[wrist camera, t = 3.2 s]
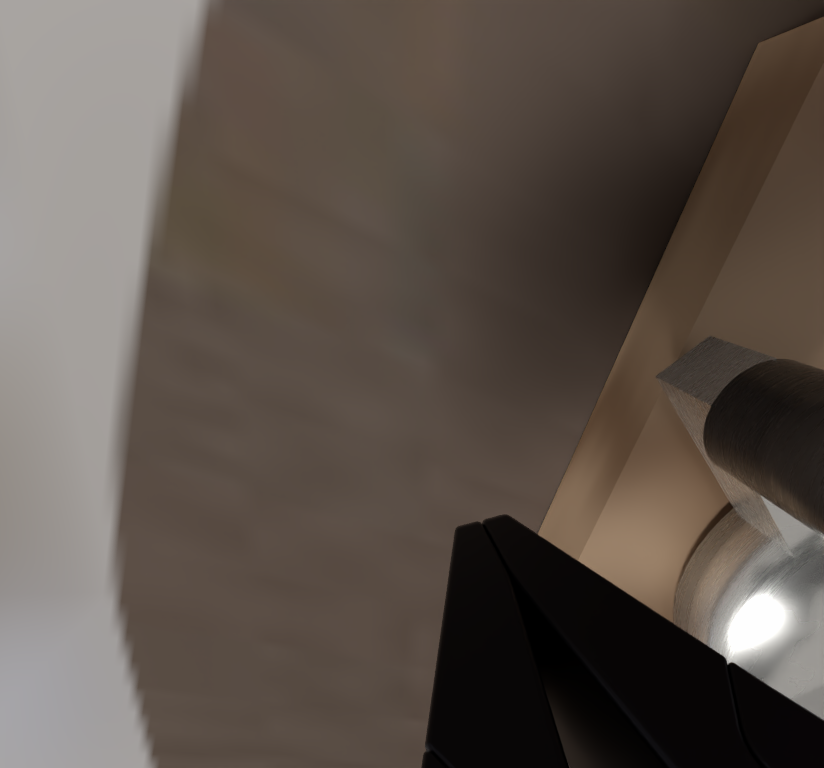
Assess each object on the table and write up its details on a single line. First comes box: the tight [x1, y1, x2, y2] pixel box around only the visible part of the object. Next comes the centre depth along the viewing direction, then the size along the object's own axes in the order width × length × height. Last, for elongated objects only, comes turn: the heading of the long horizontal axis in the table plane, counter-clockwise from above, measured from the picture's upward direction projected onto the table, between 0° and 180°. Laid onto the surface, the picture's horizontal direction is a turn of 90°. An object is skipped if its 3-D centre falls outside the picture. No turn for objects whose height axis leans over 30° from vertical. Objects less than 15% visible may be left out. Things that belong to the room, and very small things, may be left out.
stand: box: [538, 17, 824, 623], centre depth 13 cm, size 20×12×2 cm, turn 163°
